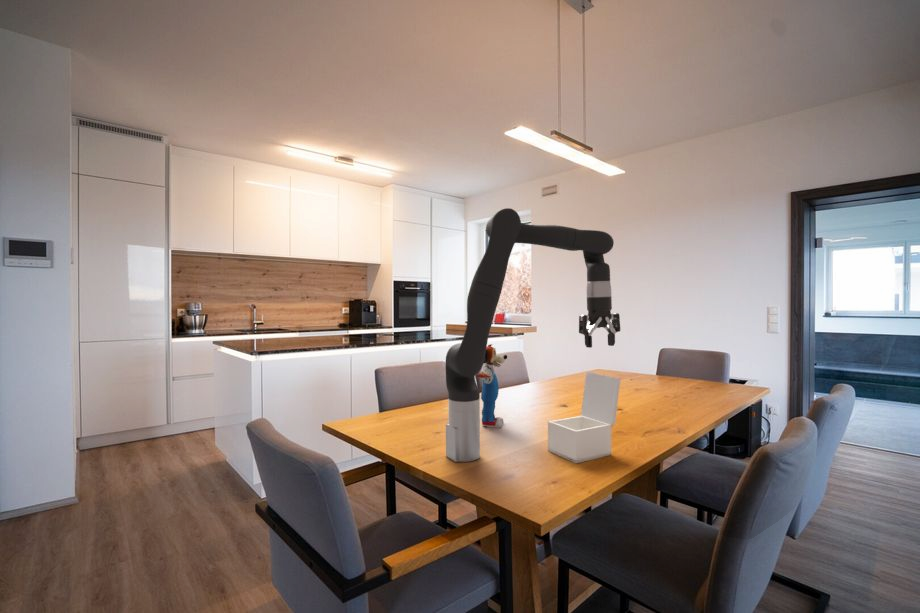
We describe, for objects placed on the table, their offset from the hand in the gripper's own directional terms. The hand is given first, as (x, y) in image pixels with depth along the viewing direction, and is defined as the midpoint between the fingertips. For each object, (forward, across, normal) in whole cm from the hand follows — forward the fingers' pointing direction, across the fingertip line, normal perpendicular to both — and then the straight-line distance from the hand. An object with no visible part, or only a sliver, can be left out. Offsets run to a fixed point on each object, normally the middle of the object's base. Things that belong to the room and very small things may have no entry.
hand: (600, 346), depth 137 cm
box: (+31, -12, -4) cm, 34 cm away
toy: (+31, -23, +32) cm, 51 cm away
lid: (+15, -3, -3) cm, 16 cm away
